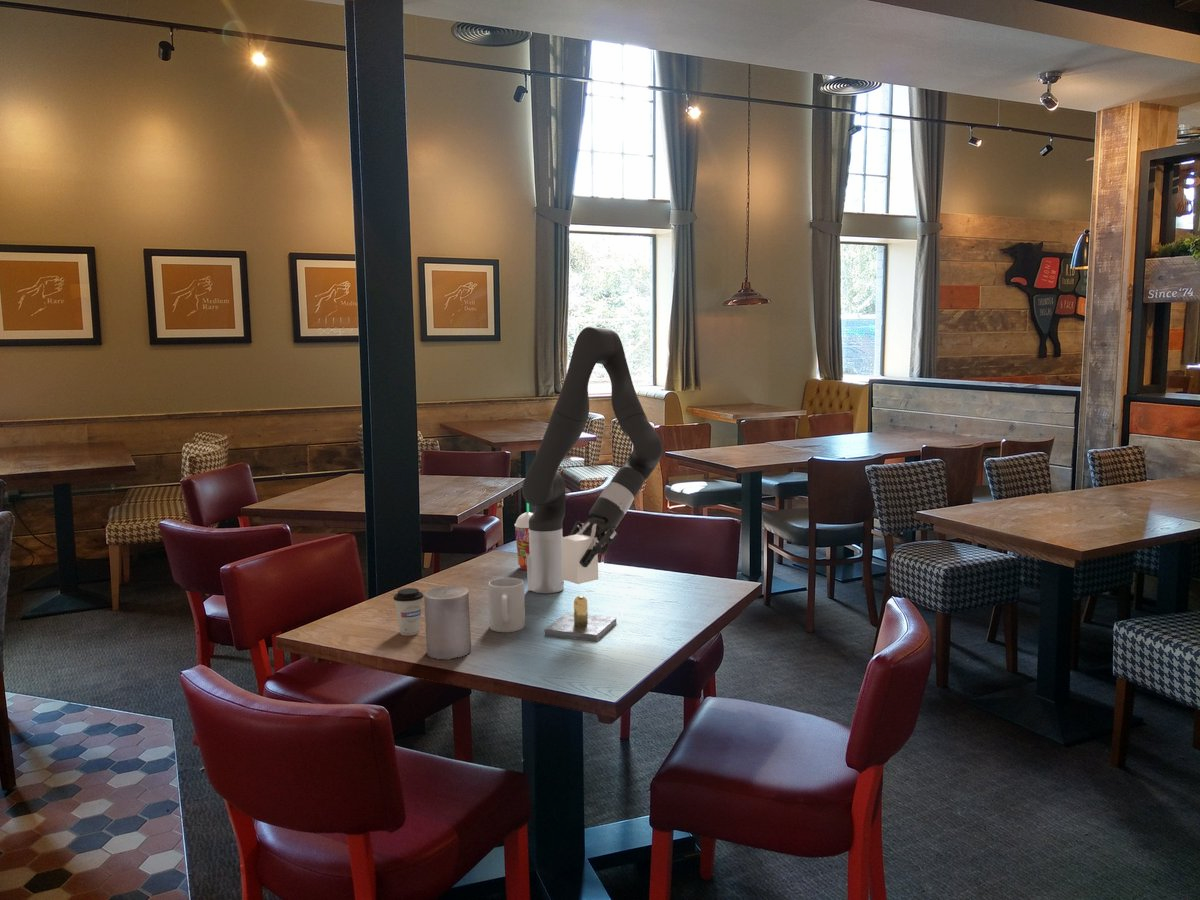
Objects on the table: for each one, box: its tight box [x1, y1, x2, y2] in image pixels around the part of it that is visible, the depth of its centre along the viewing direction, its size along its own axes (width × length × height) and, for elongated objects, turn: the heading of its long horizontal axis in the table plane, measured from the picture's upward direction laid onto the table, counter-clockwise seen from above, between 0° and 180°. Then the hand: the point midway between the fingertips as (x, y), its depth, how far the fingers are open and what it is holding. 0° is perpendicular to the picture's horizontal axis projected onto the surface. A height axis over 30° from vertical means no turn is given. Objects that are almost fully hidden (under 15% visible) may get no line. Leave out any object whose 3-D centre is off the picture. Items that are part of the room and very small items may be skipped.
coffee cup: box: [393, 587, 424, 636], centre depth 198 cm, size 7×7×10 cm
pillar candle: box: [423, 585, 472, 660], centre depth 184 cm, size 10×10×15 cm
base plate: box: [543, 595, 617, 642], centre depth 197 cm, size 13×13×8 cm
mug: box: [487, 577, 526, 633], centre depth 199 cm, size 12×8×11 cm
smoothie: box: [514, 502, 534, 571], centre depth 255 cm, size 8×8×20 cm
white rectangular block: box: [561, 534, 599, 585], centre depth 196 cm, size 6×6×10 cm
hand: (574, 562), depth 195 cm, fingers closed on white rectangular block, 6 cm apart
